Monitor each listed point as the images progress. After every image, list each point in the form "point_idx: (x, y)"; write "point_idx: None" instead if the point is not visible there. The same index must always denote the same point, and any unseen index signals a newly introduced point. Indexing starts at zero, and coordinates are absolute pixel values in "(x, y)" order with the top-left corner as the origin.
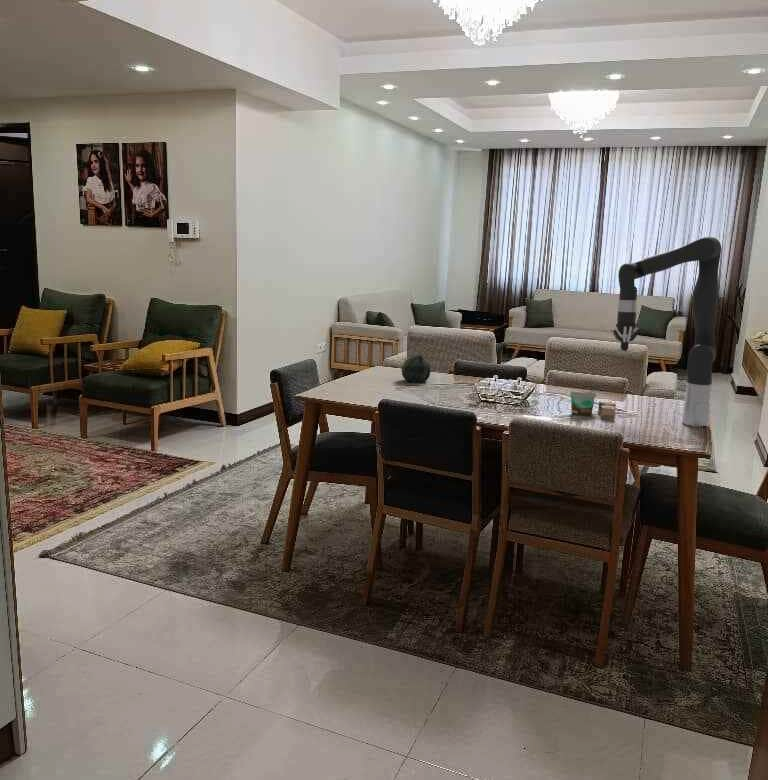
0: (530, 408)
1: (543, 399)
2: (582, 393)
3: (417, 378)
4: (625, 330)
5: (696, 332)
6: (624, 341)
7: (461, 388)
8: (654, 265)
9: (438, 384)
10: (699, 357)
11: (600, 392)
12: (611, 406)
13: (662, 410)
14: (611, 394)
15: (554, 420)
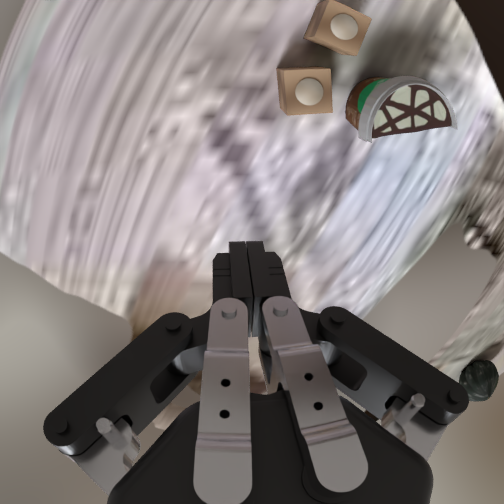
0: (466, 184)
1: (381, 272)
2: (438, 91)
3: (485, 361)
4: (317, 430)
5: None
6: (279, 301)
7: (456, 341)
8: None
9: (463, 357)
10: None
11: None
12: (325, 32)
13: (73, 136)
14: None
15: (478, 56)
